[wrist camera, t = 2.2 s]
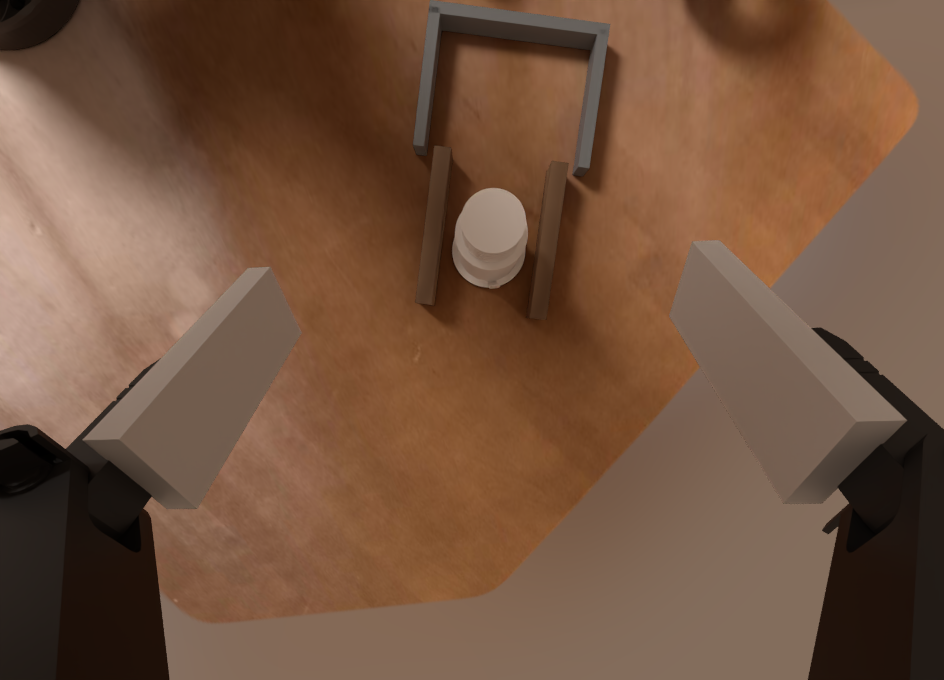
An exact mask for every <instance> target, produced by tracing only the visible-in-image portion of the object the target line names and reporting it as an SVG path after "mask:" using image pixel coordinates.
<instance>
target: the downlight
mask: <svg viewBox="0 0 944 680" xmlns="http://www.w3.org/2000/svg"><path fill="white" fill-rule="evenodd" d="M527 239H528V227H527V223H526V215H525V211H524V208H523V206H522V204H521V202H520V201H519V200H518V199H517V198H516V197H515V196H514V195H513V194H512V193H510V192H508V191H506V190H503V189H499V188H488V189H484V190H481V191H479V192H477V193H475V194H474V195H473V196H472V197H471V198H470V199H469V200H468V201H467V202H466V204H465V206H464V208H463V211H462V213H461V214H460V216H459V218H458V220H457V223H456V227H455V238H454V241H453V246H452V256H453V261H454V264H455V266H456V268H457V270H458V271H459V273H460V274H461V275H462V276H463V277H464V278H465V279H466V280H467V281H469V282H470V283H472V284H474V285H477V286H480V287H488V288H489V289H493V288H499V287H500V286H501V285H503V284H505V283H507V282H509V281H510V280H511V279H513V278H514V277H515V276H516V275H517V273H518V272H519V271H520V269H521V267H522V265H523V262H524V259H525V251H526V250H525V247H526V244H527Z"/></svg>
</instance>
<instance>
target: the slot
mask: <svg viewBox="0 0 944 680" xmlns="http://www.w3.org/2000/svg"><path fill="white" fill-rule="evenodd" d="M452 161H453V157H452V150H451V147H444V146H436V145H434V153H433V161H432V169H431V177H430V186H429V194H428V202H427V210H426V218H425V227H424V235H423V243H422V251H421V259H420V268H419V276H418V284H417V292H416V300H415V303H419V304H426V305H433V306H435V298H436V289H437V281H438V273H439V265H440V257H441V249H442V241H443V233H444V225H445V217H446V209H447V201H448V193H449V185H450V177H451V169H452ZM568 164H569V163H565V162H557V161H552V162H551V164H550V166H549V168H548V170H547V172H546V179H545V186H544V193H543V201H542V208H541V215H540V222H539V229H538V237H537V244H536V251H535V258H534V265H533V273H532V280H531V287H530V294H529V301H528V309H527V316H526V318H532V319H540V320H546V319H547V312H548V305H549V298H550V291H551V284H552V277H553V270H554V263H555V256H556V249H557V242H558V234H559V227H560V220H561V213H562V206H563V199H564V192H565V185H566V178H567V171H568Z"/></svg>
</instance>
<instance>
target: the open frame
mask: <svg viewBox="0 0 944 680" xmlns="http://www.w3.org/2000/svg"><path fill="white" fill-rule="evenodd" d="M609 29H610V24H606V23H599V22H591V21H584V20H576V19H569V18H561V17H554V16H546V15H539V14H531V13H523V12H516V11H508V10H501V9H493V8H486V7H478V6H471V5H463V4H456V3H448V2H441V1H433V0H430V5H429V14H428V22H427V30H426V39H425V47H424V56H423V64H422V73H421V81H420V89H419V98H418V106H417V115H416V123H415V131H414V140H413V147H414V149H415V152H416V154H417V155H425V156H427V149H428V141H429V133H430V124H431V116H432V108H433V100H434V91H435V83H436V75H437V66H438V58H439V50H440V42H441V33H442V31H450V32H457V33H465V34H473V35H480V36H488V37H495V38H503V39H510V40H518V41H525V42H533V43H540V44H548V45H555V46H563V47H570V48H578V49H585V50H590V57H589V64H588V71H587V78H586V85H585V92H584V99H583V106H582V113H581V120H580V127H579V134H578V141H577V148H576V155H575V162H574V169H573V175H576V176H584V174H585V173H586V172H587V171H588V169H589V167H590V160H591V153H592V146H593V139H594V132H595V126H596V119H597V112H598V105H599V98H600V91H601V84H602V77H603V70H604V64H605V57H606V50H607V43H608V36H609Z"/></svg>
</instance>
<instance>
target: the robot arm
mask: <svg viewBox="0 0 944 680" xmlns="http://www.w3.org/2000/svg"><path fill="white" fill-rule="evenodd" d="M78 1H79V0H0V49H2V50H15V49H22V48H27V47H30V46H33V45H36V44H38V43H41V42H43V41H44V40H46V39H48V38H49V37H51V36H52V35H54V34H55V33H56V32H57V31H58V30H59V29H60V28H61V27H62V26H63V25H64V24H65V23H66V22H67V20H68V19H69V18H70V16H71V15H72V13H73V11H74V9H75V7H76V5H77V3H78ZM669 317H670V319H671V320H672V322H673V323H674V325H675V327H676V328H677V330H678V332H679V333H680V335H681V337H682V338H683V340H684V342H685V343H686V345H687V346H688V348H689V350H690V351H691V353H692V355H693V356H694V358H695V360H696V361H697V363H698V365H699V366H700V368H701V369H702V371H703V373H704V374H705V376H706V378H707V379H708V381H709V382H710V384H711V386H712V388H713V389H714V391H715V392H716V394H717V396H718V397H719V399H720V401H721V402H722V404H723V406H724V407H725V409H726V411H727V412H728V414H729V415H730V417H731V419H732V420H733V422H734V424H735V425H736V427H737V429H738V430H739V432H740V434H741V435H742V437H743V438H744V440H745V442H746V443H747V445H748V447H749V448H750V450H751V452H752V453H753V455H754V457H755V458H756V460H757V461H758V463H759V464H760V466H761V468H762V470H763V471H764V473H765V475H766V476H767V478H768V480H769V481H770V483H771V484H772V486H773V488H774V489H775V491H776V493H777V494H778V496H779V497H780V499H781V501H782V503H783V504H812V503H813V504H816V503H823V502H824V501H825V500H826V499H827V498H828V497H829V496H830V495H831V494H832V493H833V492H834V491H835V490H836V489H837V488H839V490H840V491H841V492H842V494H843V495H844V496H845V498H846V499H847V500H848V502H849V504H848V505H847V506H846V507H845V508H844V509H842V510H841V511H840V512H839V513H838V514H837V515H836V516H835V517H833V518H832V519H831V520H830V521H829V522H828V523H827V524H826V525H825V527H824V528H823V530H822V531H824V532H825V533H827V534H829V533H831V532H832V531H833V530H834V529H835V528H836V527H838V533H837V537H836V542H835V547H834V552H833V557H832V562H831V567H830V572H829V577H828V582H827V587H826V592H825V597H824V602H823V607H822V612H821V617H820V622H819V627H818V632H817V637H816V642H815V647H814V652H813V657H812V662H811V667H810V672H809V677H808V680H944V429H943V428H941V427H940V426H939V425H938V424H937V423H936V422H935V421H933V420H932V419H931V418H930V417H929V416H928V415H927V414H926V413H925V412H923V410H921V409H920V408H919V407H918V406H917V405H916V404H915V403H914V402H913V401H911V400H910V399H909V398H908V397H907V396H906V395H905V394H904V393H903V392H901V391H900V390H899V389H898V388H897V387H896V386H895V385H894V384H893V383H891V382H890V381H889V380H888V379H887V378H886V377H885V376H883V375H879V371H878V370H877V369H876V368H874V366H872V365H871V364H870V363H869V362H868V361H864V360H863V356H861V355H860V354H859V353H858V352H857V351H856V350H855V349H854V348H853V347H851V346H850V345H849V344H848V343H847V342H846V341H844V340H842V339H840V338H839V337H837V336H835V335H833V334H832V333H830V332H828V331H826V330H824V329H822V328H810V327H809V326H808V325H807V324H806V323H805V322H804V321H803V320H802V319H801V318H800V317H799V316H798V315H797V314H796V313H795V312H794V311H792V310H791V309H790V308H789V307H788V306H787V305H786V304H785V303H784V302H783V301H782V300H781V299H780V298H779V297H778V296H777V295H776V294H775V293H773V291H772V290H771V289H770V288H769V287H767V286H766V285H765V284H764V283H763V282H762V281H761V280H760V279H759V278H758V277H757V276H756V275H755V274H754V273H753V272H752V271H751V270H750V269H749V268H748V267H747V266H746V265H745V264H743V263H742V262H741V261H740V260H739V259H738V258H737V257H736V256H735V255H734V254H733V253H732V252H731V251H730V250H729V249H728V248H727V247H726V246H725V245H724V244H723V243H722V242H720V241H719V240H711V241H694V242H692V243H691V247H690V250H689V253H688V256H687V260H686V263H685V266H684V269H683V273H682V276H681V279H680V282H679V286H678V289H677V292H676V295H675V299H674V302H673V305H672V308H671V312H670V315H669ZM300 335H301V331H300V328H299V326H298V324H297V322H296V320H295V318H294V316H293V314H292V311H291V309H290V307H289V305H288V303H287V301H286V299H285V297H284V295H283V292H282V290H281V288H280V286H279V284H278V282H277V280H276V278H275V275H274V273H273V271H272V269H271V267H258V268H248V269H247V270H246V271H245V272H244V273H243V274H242V275H241V276H240V277H239V278H238V279H237V280H236V281H235V282H234V283H233V284H232V285H231V286H230V287H229V288H228V289H227V290H226V291H225V292H224V293H223V294H222V296H221V297H220V298H219V299H218V300H217V301H216V302H215V303H214V304H213V305H212V306H211V307H210V308H209V309H208V310H207V311H206V312H205V313H204V314H203V315H202V316H201V317H200V318H199V319H198V320H197V322H196V323H195V324H194V325H193V326H192V327H191V328H190V329H189V330H188V331H187V332H186V333H185V334H184V335H183V336H182V337H181V338H180V339H179V340H178V341H177V342H176V343H175V344H174V345H173V346H172V347H171V349H170V350H169V351H168V352H167V353H166V354H165V355H164V356H163V357H162V358H160V359H159V360H158V361H156V362H155V363H153V364H152V365H150V366H149V367H147V368H146V369H144V370H143V371H142V372H141V373H140V374H139V375H138V376H137V377H136V378H135V379H134V380H133V381H132V382H131V383H130V384H129V388H125V389H124V390H123V391H122V392H121V393H120V394H119V396H118V397H117V400H116V401H113V402H112V403H111V404H110V405H109V406H108V407H107V408H106V409H105V410H104V411H103V412H102V413H101V414H100V415H99V416H98V417H97V418H96V419H95V420H94V421H93V422H92V423H91V424H90V425H89V426H88V427H87V428H86V429H85V430H84V431H83V432H82V433H81V434H80V435H79V436H78V437H77V438H76V439H75V440H74V441H73V442H72V443H71V444H70V445H69V446H68V448H66V449H64V448H63V447H62V446H61V445H59V444H58V443H57V442H55V441H54V440H53V439H51V438H50V437H49V436H47V435H46V434H45V433H43V432H42V431H41V430H40V429H38V428H37V427H35V426H32V425H28V424H27V425H19V426H13V427H10V428H7V429H4V430H1V431H0V680H169V671H168V663H167V654H166V646H165V637H164V628H163V619H162V610H161V603H160V593H159V584H158V575H157V567H156V558H155V549H154V541H153V532H152V523H151V518H150V516H149V514H148V512H147V511H146V510H144V509H143V508H144V506H145V505H146V503H147V502H148V501H149V499H150V498H151V496H152V497H153V498H154V499H155V500H156V501H158V502H159V503H160V504H161V505H163V506H164V507H165V508H166V509H197V508H198V507H199V505H200V503H201V502H202V500H203V498H204V497H205V495H206V493H207V491H208V490H209V488H210V486H211V485H212V483H213V481H214V480H215V478H216V476H217V475H218V473H219V471H220V470H221V468H222V466H223V465H224V463H225V461H226V459H227V458H228V456H229V454H230V453H231V451H232V449H233V448H234V446H235V444H236V443H237V441H238V439H239V438H240V436H241V434H242V433H243V431H244V429H245V427H246V426H247V424H248V422H249V421H250V419H251V417H252V416H253V414H254V412H255V411H256V409H257V407H258V406H259V404H260V402H261V400H262V399H263V397H264V395H265V394H266V392H267V390H268V389H269V387H270V385H271V384H272V382H273V380H274V379H275V377H276V375H277V374H278V372H279V370H280V368H281V367H282V365H283V363H284V362H285V360H286V358H287V357H288V355H289V353H290V352H291V350H292V348H293V347H294V345H295V343H296V341H297V340H298V338H299V336H300Z"/></svg>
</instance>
